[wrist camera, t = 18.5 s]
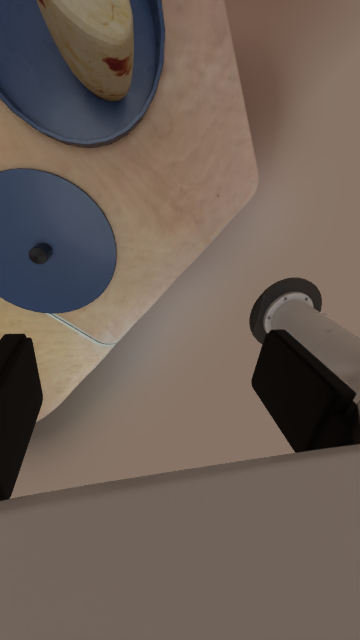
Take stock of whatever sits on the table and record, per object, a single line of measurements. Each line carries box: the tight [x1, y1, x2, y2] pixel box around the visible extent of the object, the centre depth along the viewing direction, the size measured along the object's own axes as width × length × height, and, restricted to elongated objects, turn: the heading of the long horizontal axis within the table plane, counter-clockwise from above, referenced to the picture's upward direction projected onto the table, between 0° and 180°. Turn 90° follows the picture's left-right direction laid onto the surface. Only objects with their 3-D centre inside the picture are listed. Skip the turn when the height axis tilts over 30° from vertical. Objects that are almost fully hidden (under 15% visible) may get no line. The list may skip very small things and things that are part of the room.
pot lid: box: [0, 169, 116, 313], centre depth 40 cm, size 23×23×5 cm
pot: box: [0, 0, 165, 148], centre depth 30 cm, size 22×22×4 cm
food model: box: [36, 0, 134, 102], centre depth 24 cm, size 10×7×20 cm
